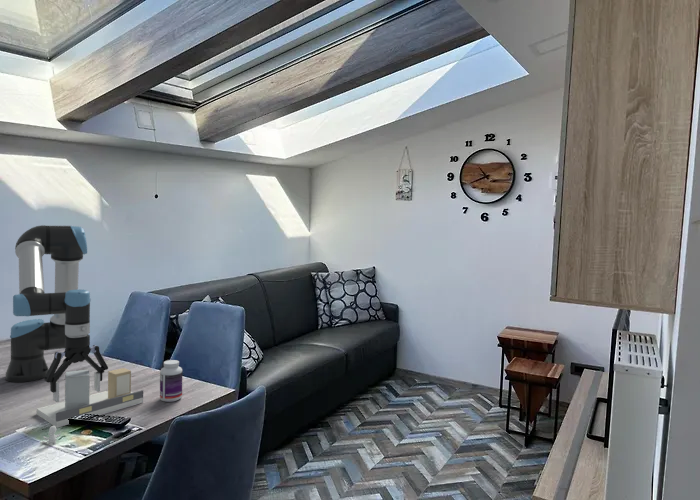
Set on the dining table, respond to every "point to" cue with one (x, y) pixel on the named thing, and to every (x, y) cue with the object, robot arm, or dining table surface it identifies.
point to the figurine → (51, 436)
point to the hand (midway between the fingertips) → (77, 395)
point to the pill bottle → (171, 381)
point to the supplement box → (77, 389)
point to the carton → (119, 382)
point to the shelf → (89, 407)
